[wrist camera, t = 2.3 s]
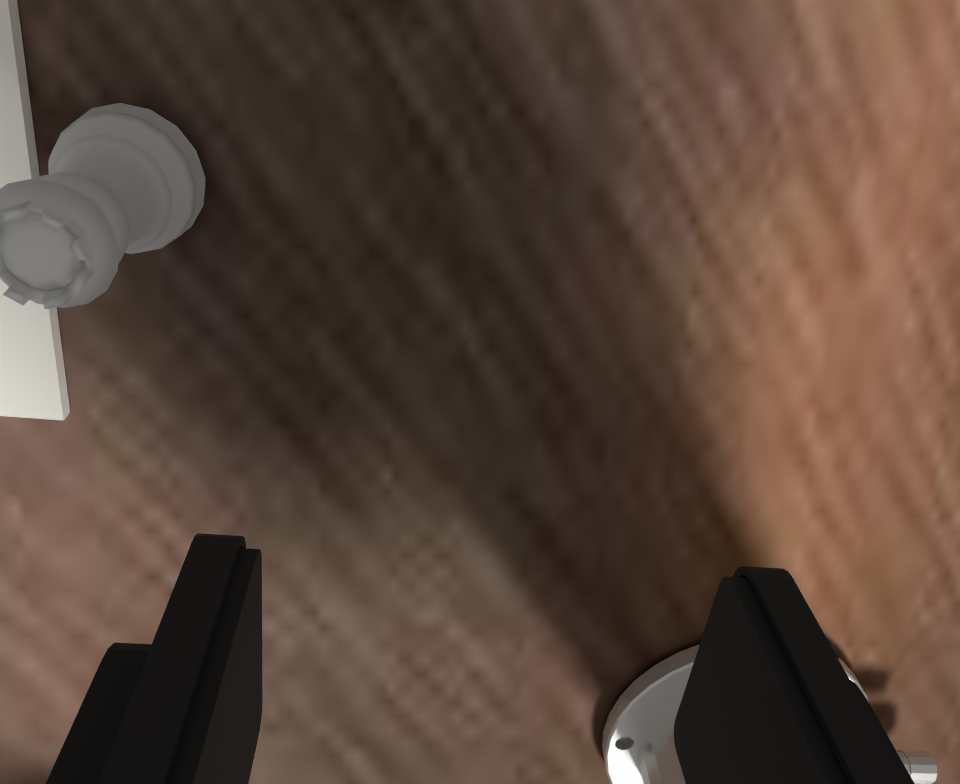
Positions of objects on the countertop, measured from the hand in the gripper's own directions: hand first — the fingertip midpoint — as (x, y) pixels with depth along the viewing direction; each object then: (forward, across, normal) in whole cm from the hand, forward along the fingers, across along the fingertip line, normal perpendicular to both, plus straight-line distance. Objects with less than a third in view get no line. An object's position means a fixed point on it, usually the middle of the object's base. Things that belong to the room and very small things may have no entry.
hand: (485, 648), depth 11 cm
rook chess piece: (+20, +10, 0) cm, 22 cm away
